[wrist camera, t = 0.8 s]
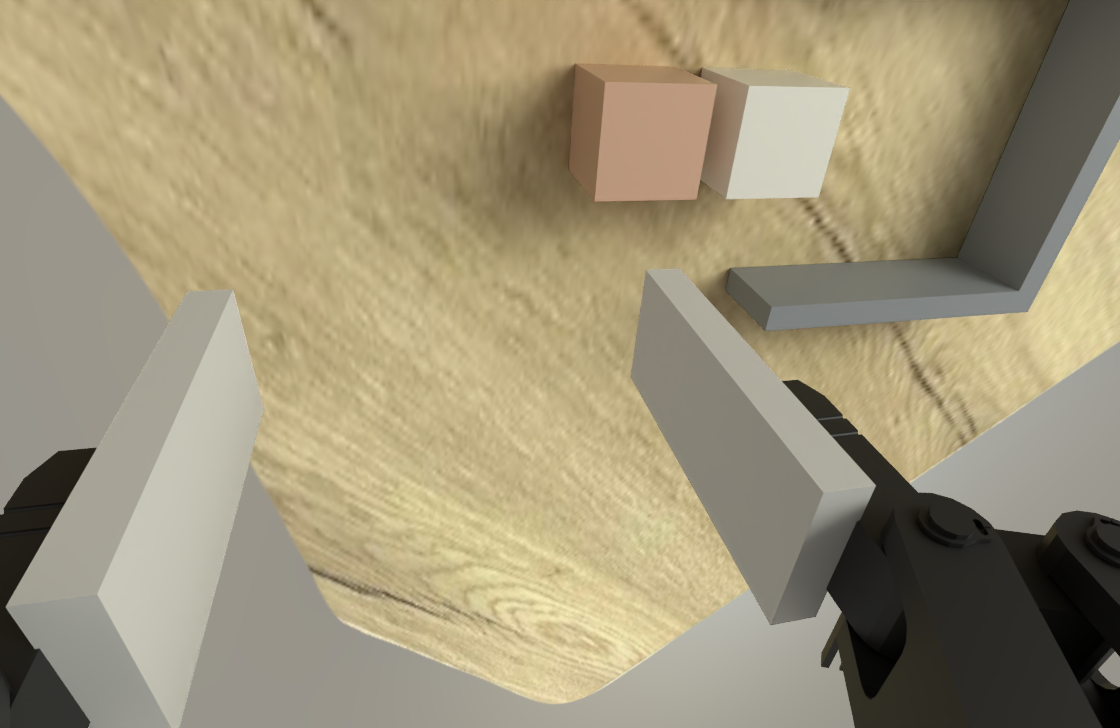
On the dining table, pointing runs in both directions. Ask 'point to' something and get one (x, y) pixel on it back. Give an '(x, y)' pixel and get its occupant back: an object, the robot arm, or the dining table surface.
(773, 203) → the dining table surface
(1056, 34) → the box
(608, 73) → the tile
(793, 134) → the tile
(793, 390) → the robot arm
